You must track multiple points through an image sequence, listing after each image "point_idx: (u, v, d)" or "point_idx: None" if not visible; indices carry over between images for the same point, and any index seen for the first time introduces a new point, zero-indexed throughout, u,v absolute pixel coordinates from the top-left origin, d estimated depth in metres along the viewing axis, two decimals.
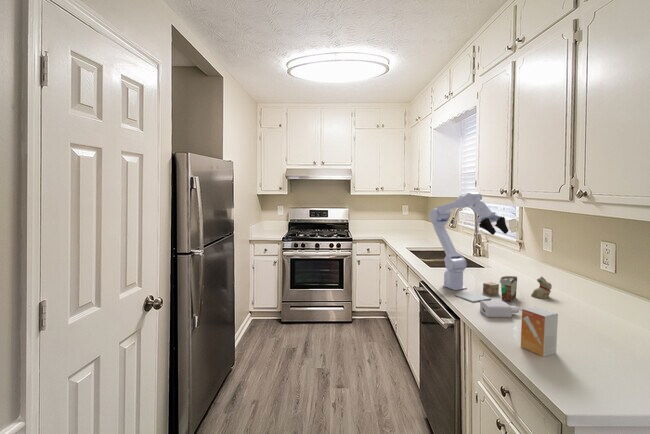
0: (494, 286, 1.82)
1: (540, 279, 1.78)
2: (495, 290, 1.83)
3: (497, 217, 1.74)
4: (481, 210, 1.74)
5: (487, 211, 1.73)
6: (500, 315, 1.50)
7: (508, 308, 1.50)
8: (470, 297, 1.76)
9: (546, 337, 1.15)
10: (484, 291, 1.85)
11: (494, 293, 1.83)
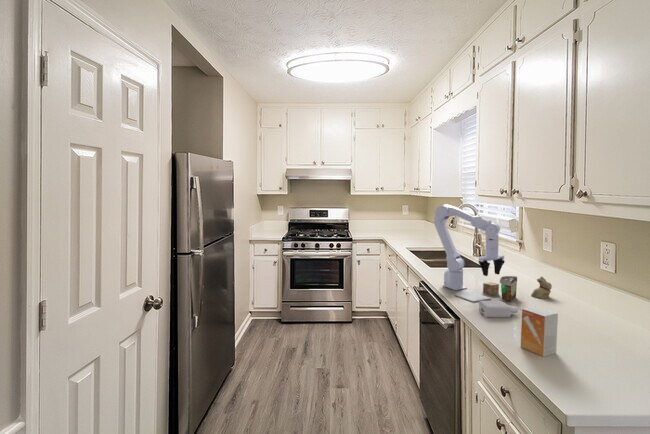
0: (494, 286, 1.82)
1: (540, 279, 1.78)
2: (495, 290, 1.83)
3: (499, 257, 1.84)
4: (490, 249, 1.81)
5: (494, 253, 1.81)
6: (499, 315, 1.50)
7: (507, 308, 1.50)
8: (470, 297, 1.76)
9: (546, 337, 1.15)
10: (484, 291, 1.85)
11: (494, 293, 1.83)
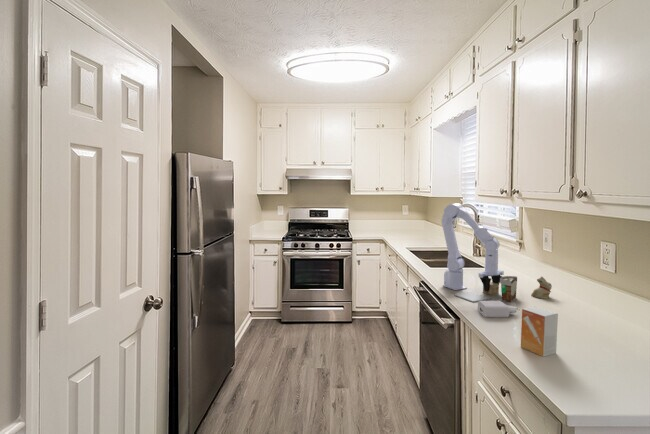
0: (494, 286, 1.82)
1: (540, 279, 1.78)
2: (495, 290, 1.83)
3: None
4: (489, 265, 1.82)
5: (493, 269, 1.81)
6: (497, 315, 1.50)
7: (505, 308, 1.50)
8: (470, 297, 1.76)
9: (546, 337, 1.15)
10: (484, 291, 1.85)
11: (494, 293, 1.82)
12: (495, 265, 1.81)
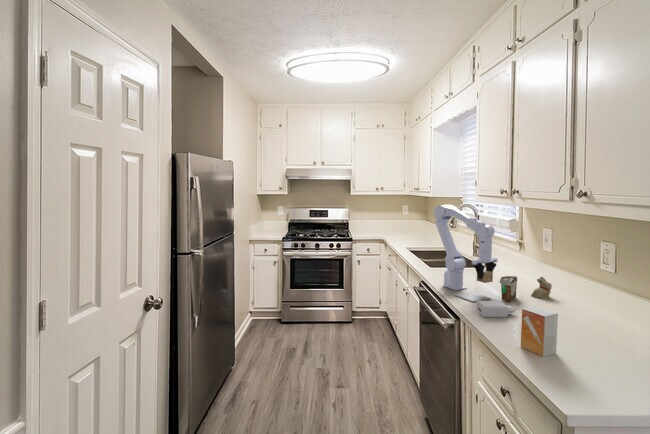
0: (488, 273, 1.79)
1: (540, 279, 1.78)
2: (489, 277, 1.80)
3: (492, 260, 1.82)
4: (483, 251, 1.78)
5: (487, 256, 1.78)
6: (496, 315, 1.50)
7: (504, 308, 1.50)
8: (470, 297, 1.76)
9: (546, 337, 1.15)
10: (478, 279, 1.82)
11: (488, 281, 1.79)
12: (489, 252, 1.78)
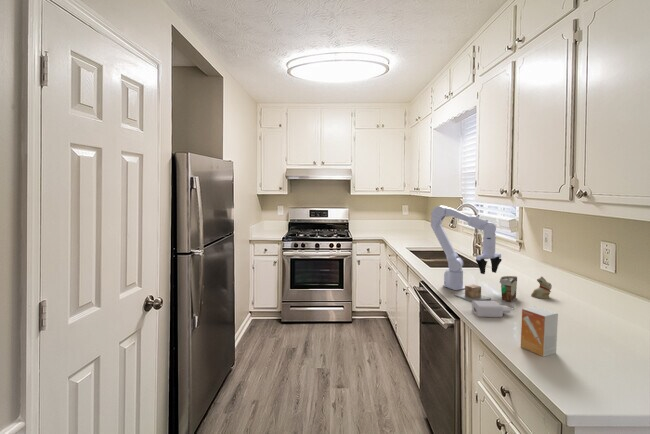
0: (476, 289, 1.75)
1: (540, 279, 1.78)
2: (478, 293, 1.75)
3: (496, 256, 1.87)
4: (487, 247, 1.84)
5: (491, 252, 1.84)
6: (491, 315, 1.50)
7: (499, 308, 1.50)
8: None
9: (546, 337, 1.15)
10: (466, 294, 1.78)
11: (476, 296, 1.75)
12: (493, 248, 1.84)
